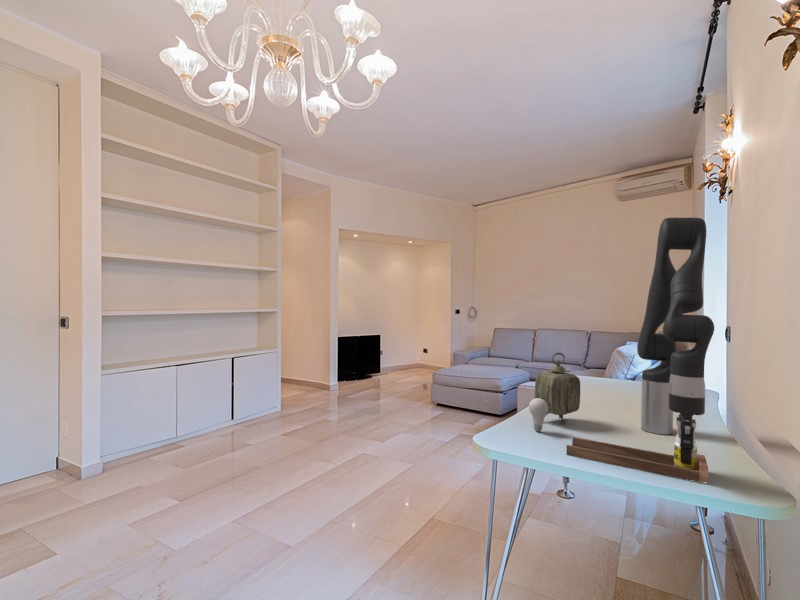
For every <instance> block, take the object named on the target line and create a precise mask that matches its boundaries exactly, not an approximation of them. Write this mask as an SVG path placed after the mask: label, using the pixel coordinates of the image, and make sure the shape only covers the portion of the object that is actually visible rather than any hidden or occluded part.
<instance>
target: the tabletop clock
mask: <svg viewBox="0 0 800 600" xmlns="http://www.w3.org/2000/svg"><path fill="white" fill-rule="evenodd" d="M559 355H561V356H562V357H563V359H562V361H561V360H556V362H555V361H554V358H555V356H559ZM551 361H552V363H553V364H554V365H553V366H552V367H551V368H550V370H546V371H541V372H539V373H537V375H536V378H535V385H534V399H535V398H540V399H543V400H544V401H545V402H546V403H547V405H548V412H547V414H546V416H548V415H549V414H551V415H552V414H553V415H555V416H558V418H559V419H560V421H559V422H560V424H561V425H564V424H565V423H566V421H565V419H564V415H568V414H572V413H575V412H577V411H579V409H580V403H581V380H580V378H579V377H578V376H577V375H576V374H574V373H569V372H567V370H566V368H565V367H564V366H562V364H563V363H564V362H565V361H566V357H565V355H564V353H563V352H555V353H554V354H553V355H552V357H551Z"/></svg>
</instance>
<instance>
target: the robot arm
mask: <svg viewBox="0 0 800 600" xmlns="http://www.w3.org/2000/svg"><path fill="white" fill-rule="evenodd" d="M656 243H657V244H656V245H657V246H656V251H655V252H656V253H655V262H654V268H653V272H652V277H651V279H650V280H651V282H650V286H649V288H648V289H649V290H648V295H647V301H646V309H645V314H644V319H643V323H642V326H641V330H640V331H639V336H638V341H637V345H636V346H637V349H636V350H637V351H636V352H637V355H638V357H640V359H642V360H646V361H660V363H659V364H658V365H657V366H654V367H652V368H648V369H644V370H642V372H641V409H640V411H641V414H640V418H641V419H640V429H641V430H642V431H646V432H647V433H652V434H655V435H656V434H657V435H672V434H673V433H674V413H677V414H678V413H679V415H678V416H676V427H677V428H676V429H677V431H676V433H677V434H678V437H679V438H680V448H681V458H680V461H681V463H682V464H687V465H691V460H692V450H693V448H694V446H693V440H694V439H696V432H695V431H696V428H697V422H696V419H693V416H703V415H704V414H705V412H706V384H705V361H706V357H707V356H706V355H707V352H708V349H709V346H710V343H711V341H712V337H713V335H714V332H715V324H714V321H713V320H712V318H710V317H709V316H707V315H704V314H703V315H702V314H689V313H694V312H697V311H699V310H701V309H702V308H703V305H704V293H703V291H704V290H703V272H704V271H703V269H704V261H705V252H706V243H707V224H706V221H705V220H704V219H703V218H701V217H665V218H663V220H662V221H661V223H660V226H659V230H658V236H657V242H656ZM671 250H675V251H677V250H678V251H679V250H681V251H683V250H684V251H687V250H688V251H690V255H689V256H688V257H687V259H686V260H685V262H684V263H683V264H682V265H681V266H680V267H679V268H678V269H677V270H676V268H675V266H674V264H673V262H672V260H671V257H670V251H671ZM662 324H663V325H662ZM661 326H662V333H656V332H657V331H658V329H659V327H661ZM678 342H680V343H690V344H691V343H695V345H694V346H693V348H691V349H688V350H687V349H686V350H677V343H678ZM671 433H672V434H671ZM683 440H689V441H690V444H688V443H683Z"/></svg>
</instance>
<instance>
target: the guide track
mask: <svg viewBox="0 0 800 600" xmlns="http://www.w3.org/2000/svg"><path fill="white" fill-rule="evenodd" d="M571 441H572V442H571V444H572V445H571V444H567V445H566V455H567V456H570V457H575V458H579V459H580V458H581V459H583V460H584V459H586V460H590V461H594V462H599V463H604V464H609V465H614V466H618V467H623V468H628V469H633V470H638V471H642V472H647V473H652V474H656V475H661V476H666V477H670V478H675V477H676V479H680V478H681V480H685V479H688V480H687V481H689V480H694V481H700V482H707V483H708V484H709V465H708V462H707V459H706V455H704V454H700V453H697V470H693V469H688V468H683V467H678V466H674V454H669V453H668V454H667V453H662V452H658V451H657V452H656V451H652V450H646V449H641V448H636V447H635V448H634V447H630V446H625V445H620V444H614V443H608V442H602V441H597V440H592V439H588V438H587V439H586V438H582V437H576V436H573V437H572V440H571ZM694 481H693V482H694Z"/></svg>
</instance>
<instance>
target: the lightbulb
mask: <svg viewBox="0 0 800 600" xmlns="http://www.w3.org/2000/svg"><path fill="white" fill-rule="evenodd" d="M528 409H529V410H528V411H529V412H530V414H531V417H532V423H533V428H534V429H533V430H534V431H536V432H537V433H539V432H541V431H543V425H544V421H545V417H546V416H547V415H548V414H547V412H548V405H547V403H546V402H545V401H544V400H543V399H540V398H535V397H534V398H533V399H531V400H530V401H529V404H528ZM546 414H547V415H546Z"/></svg>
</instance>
